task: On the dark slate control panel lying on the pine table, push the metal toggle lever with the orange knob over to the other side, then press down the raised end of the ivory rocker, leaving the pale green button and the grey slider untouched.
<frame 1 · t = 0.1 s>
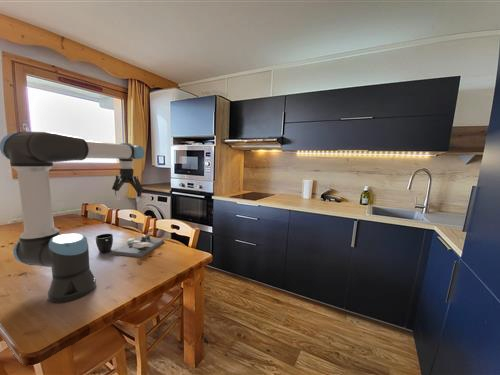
hand: (128, 201, 133), 28 cm above the table, fingers open, 13 cm apart
mug: (105, 252, 122), on the table
lever: (149, 231, 135), point 8 cm above the table, hinge at 30.0°
rocker: (142, 244, 122), point 5 cm above the table, hinge at 15.0°
button: (131, 241, 130), point 4 cm above the table, slide at 0.0 cm
panel: (140, 247, 130), on the table
slider: (136, 243, 126), point 4 cm above the table, slide at -3.0 cm
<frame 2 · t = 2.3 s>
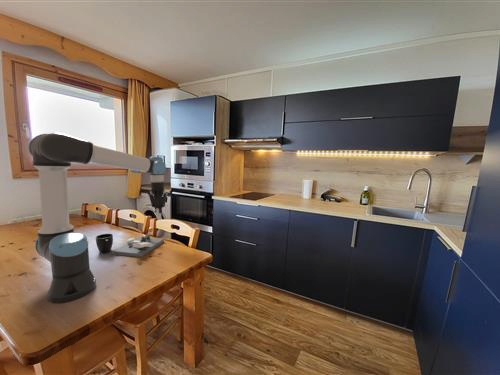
hand: (158, 217, 133), 18 cm above the table, fingers closed
nothing on the table moved.
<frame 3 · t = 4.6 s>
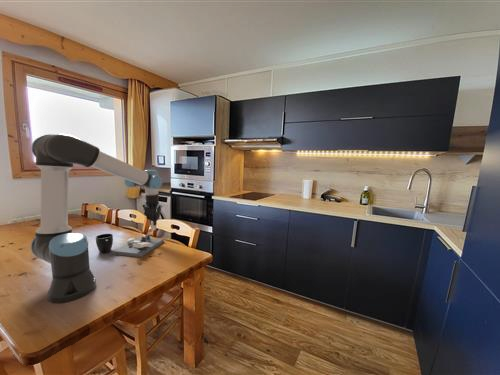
hand: (153, 229, 135), 9 cm above the table, fingers closed
lever: (149, 231, 135), point 8 cm above the table, hinge at 28.7°, touching gripper
everything else where it was.
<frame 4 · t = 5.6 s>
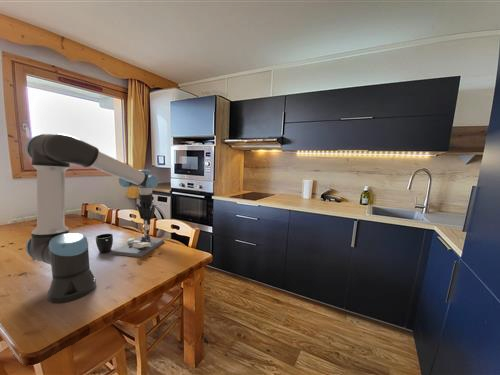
hand: (147, 229, 135), 10 cm above the table, fingers closed
lever: (144, 230, 136), point 9 cm above the table, hinge at -6.7°, touching gripper
everything else where it was.
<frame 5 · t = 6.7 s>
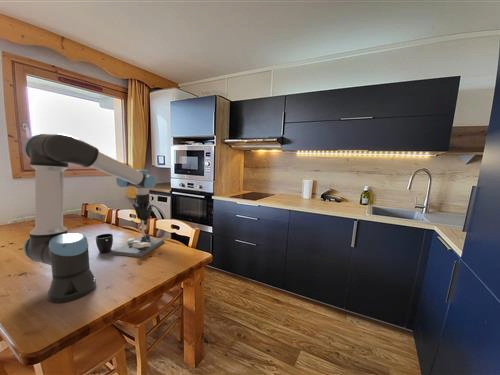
hand: (144, 229, 136), 9 cm above the table, fingers closed
lever: (142, 230, 136), point 8 cm above the table, hinge at -24.2°, touching gripper
everything else where it was.
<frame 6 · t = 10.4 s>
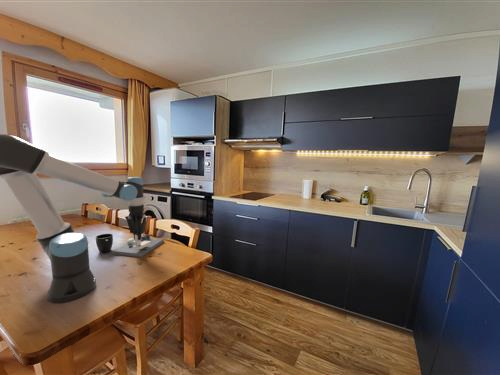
hand: (137, 245, 118), 6 cm above the table, fingers closed
lever: (142, 230, 136), point 8 cm above the table, hinge at -24.6°
rocker: (142, 244, 122), point 5 cm above the table, hinge at 3.4°, touching gripper
everything else where it was.
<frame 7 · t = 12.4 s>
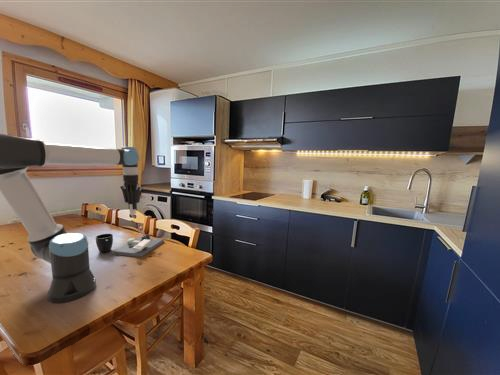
hand: (132, 214, 121), 23 cm above the table, fingers closed
rocker: (142, 244, 122), point 5 cm above the table, hinge at -7.7°
everything else where it was.
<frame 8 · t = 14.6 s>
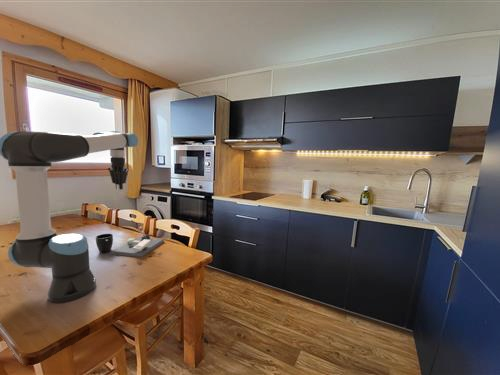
hand: (119, 194, 132), 32 cm above the table, fingers closed
nothing on the table moved.
at the end: lever at -25° (first picture: +30°); rocker at -8° (first picture: +15°); button slide at 0.0 cm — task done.
